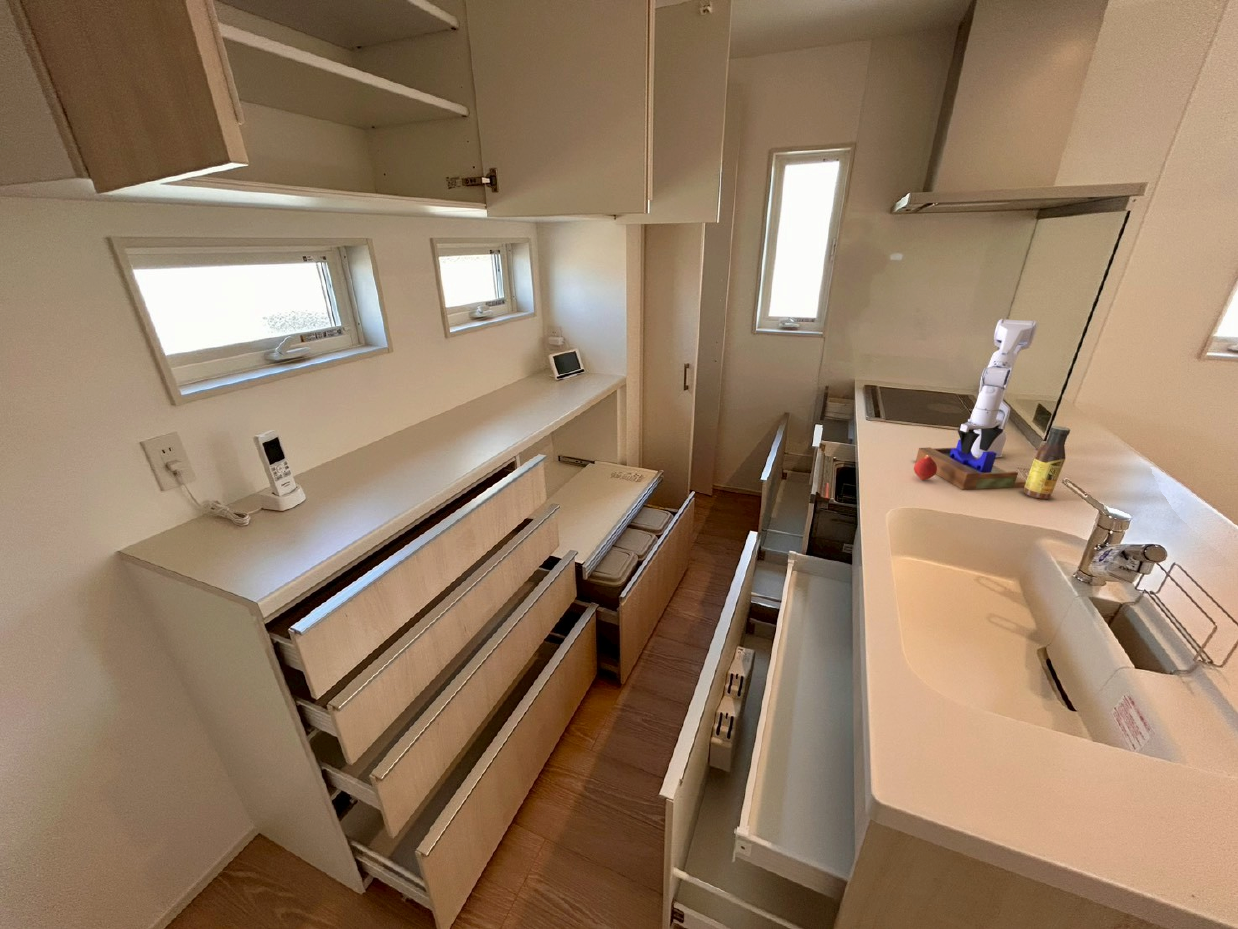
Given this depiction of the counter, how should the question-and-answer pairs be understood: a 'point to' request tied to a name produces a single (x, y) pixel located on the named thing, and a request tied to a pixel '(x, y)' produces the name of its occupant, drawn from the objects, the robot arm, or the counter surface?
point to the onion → (925, 468)
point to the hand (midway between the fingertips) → (974, 451)
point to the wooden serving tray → (968, 472)
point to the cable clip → (974, 459)
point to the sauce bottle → (1047, 464)
